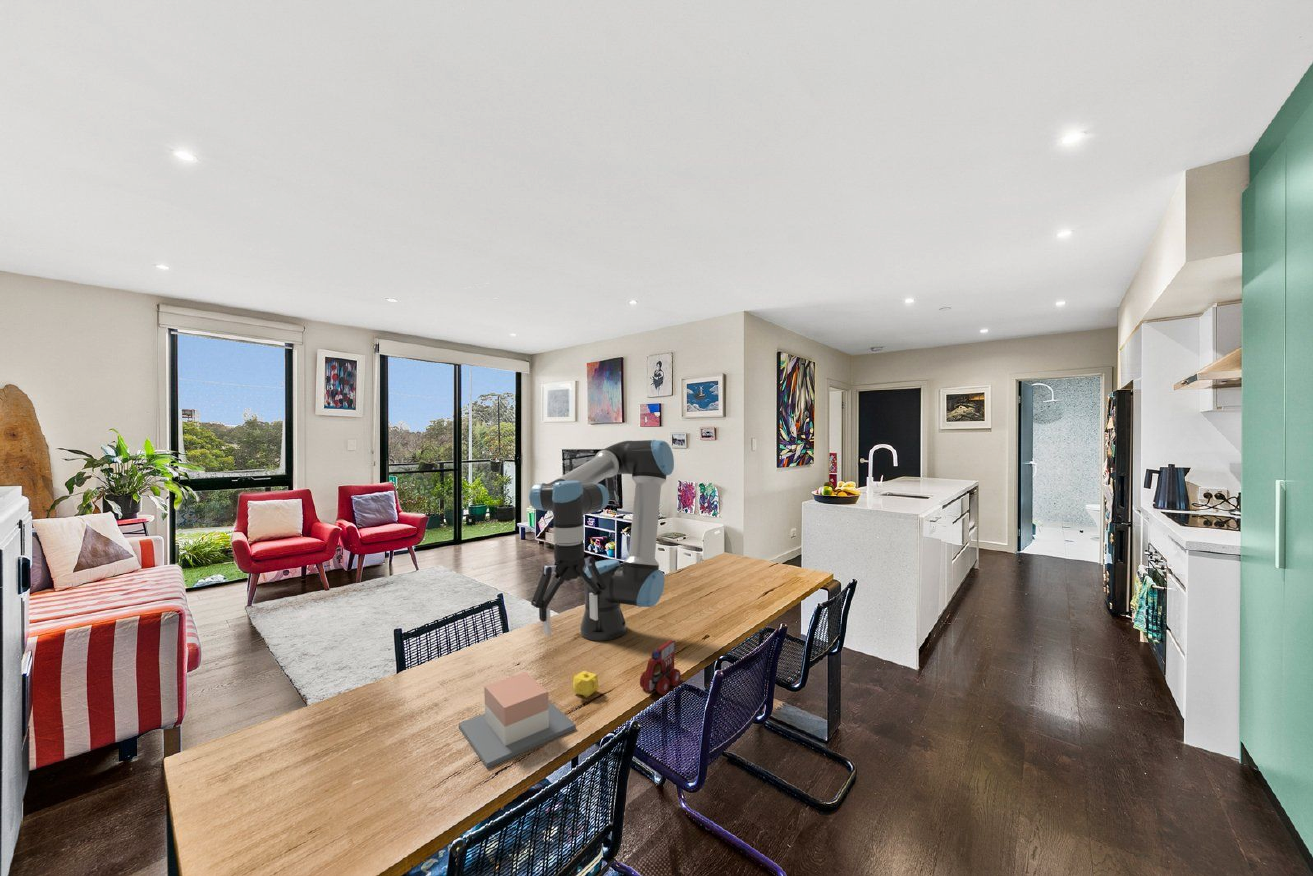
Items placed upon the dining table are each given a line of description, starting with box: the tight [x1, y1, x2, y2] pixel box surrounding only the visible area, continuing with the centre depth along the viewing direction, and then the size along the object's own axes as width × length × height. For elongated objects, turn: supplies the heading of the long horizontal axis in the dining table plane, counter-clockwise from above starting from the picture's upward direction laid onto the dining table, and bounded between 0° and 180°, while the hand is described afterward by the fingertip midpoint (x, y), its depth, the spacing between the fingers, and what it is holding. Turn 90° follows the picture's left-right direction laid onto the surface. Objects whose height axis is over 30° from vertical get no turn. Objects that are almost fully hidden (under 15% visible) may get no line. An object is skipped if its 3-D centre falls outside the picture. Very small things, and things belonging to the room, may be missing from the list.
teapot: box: [571, 670, 599, 698], centre depth 126 cm, size 8×6×5 cm
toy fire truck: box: [639, 639, 682, 696], centre depth 128 cm, size 7×12×10 cm, turn 144°
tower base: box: [458, 671, 577, 769], centre depth 112 cm, size 20×18×9 cm
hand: (571, 626), depth 125 cm, fingers open, 13 cm apart
